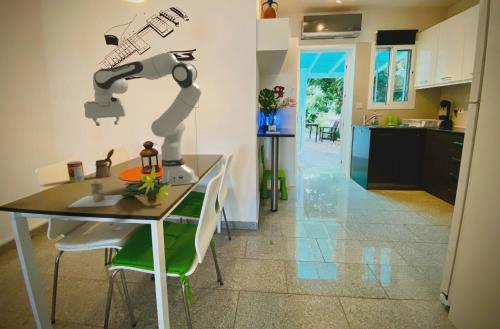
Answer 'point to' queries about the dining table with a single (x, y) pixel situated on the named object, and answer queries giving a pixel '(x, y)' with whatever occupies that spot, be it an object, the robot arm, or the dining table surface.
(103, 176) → the wooden mug
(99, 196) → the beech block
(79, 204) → the grey-blue mat
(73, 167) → the canned food
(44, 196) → the dining table surface
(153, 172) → the daffodil flowers
